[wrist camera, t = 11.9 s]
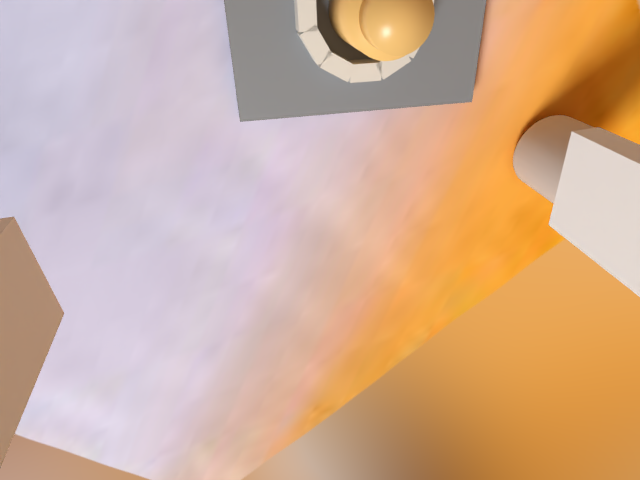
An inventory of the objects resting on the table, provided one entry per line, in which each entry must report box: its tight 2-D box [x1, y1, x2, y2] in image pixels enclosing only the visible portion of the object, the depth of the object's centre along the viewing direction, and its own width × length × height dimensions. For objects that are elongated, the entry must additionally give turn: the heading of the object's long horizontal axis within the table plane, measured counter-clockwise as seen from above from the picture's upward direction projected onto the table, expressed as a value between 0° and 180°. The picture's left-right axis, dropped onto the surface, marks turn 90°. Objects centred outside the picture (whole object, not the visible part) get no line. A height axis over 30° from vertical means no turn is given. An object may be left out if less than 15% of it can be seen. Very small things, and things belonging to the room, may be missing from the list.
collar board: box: [224, 0, 486, 122], centre depth 30 cm, size 18×14×3 cm
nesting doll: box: [328, 0, 435, 61], centre depth 27 cm, size 5×5×8 cm
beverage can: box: [513, 115, 595, 204], centre depth 34 cm, size 6×6×12 cm
